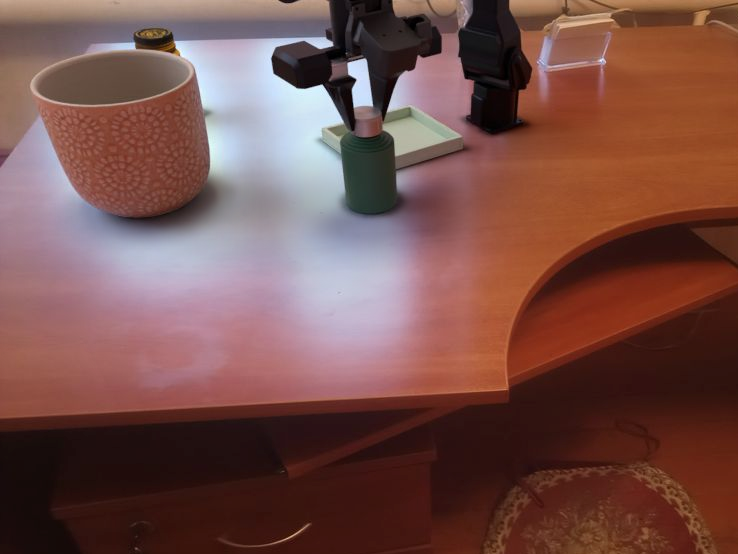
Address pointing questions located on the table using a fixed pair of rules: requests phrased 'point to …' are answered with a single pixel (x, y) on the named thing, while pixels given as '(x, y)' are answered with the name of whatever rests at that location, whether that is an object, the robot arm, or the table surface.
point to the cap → (367, 121)
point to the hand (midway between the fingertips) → (365, 125)
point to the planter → (127, 129)
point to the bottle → (369, 172)
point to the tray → (407, 136)
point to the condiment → (155, 40)
